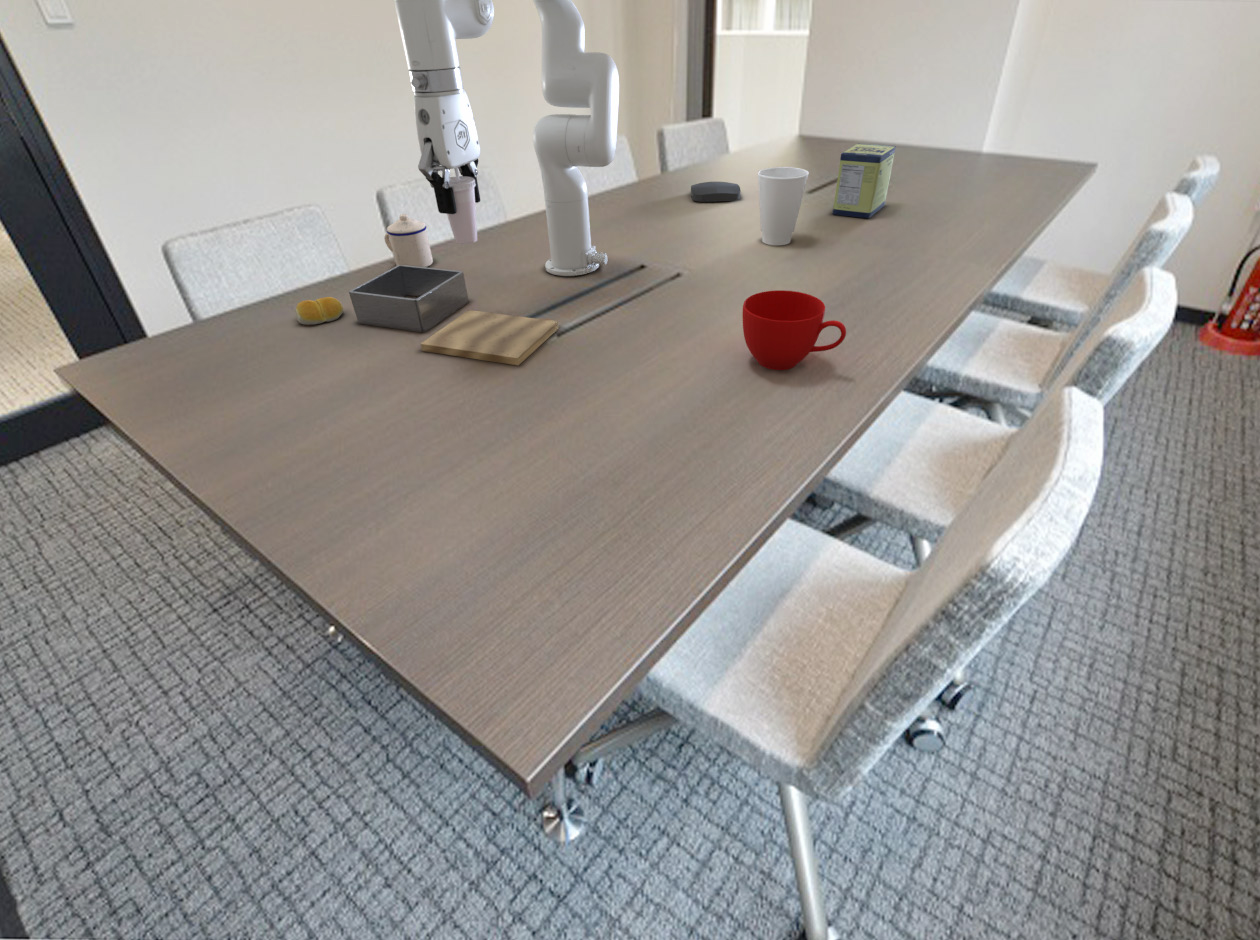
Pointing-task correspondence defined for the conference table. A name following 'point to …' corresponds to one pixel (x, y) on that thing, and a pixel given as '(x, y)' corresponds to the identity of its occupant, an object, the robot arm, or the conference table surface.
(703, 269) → the conference table surface
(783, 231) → the cup
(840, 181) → the protein box
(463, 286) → the box
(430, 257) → the teacup with lid
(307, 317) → the bread roll
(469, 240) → the smoothie
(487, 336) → the maple board
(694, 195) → the media streaming box
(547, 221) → the robot arm
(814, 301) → the ceramic cup
